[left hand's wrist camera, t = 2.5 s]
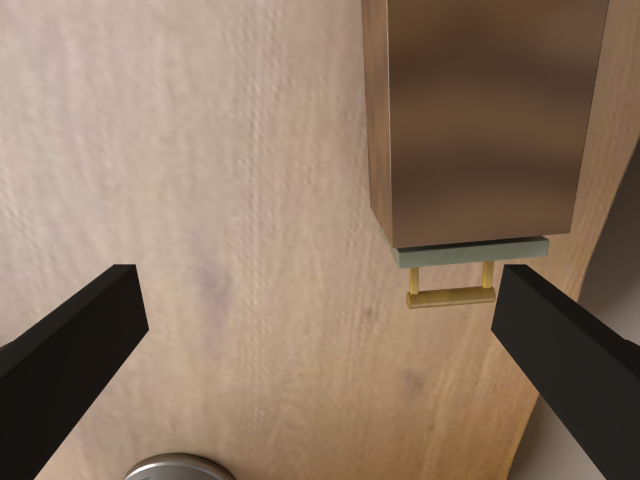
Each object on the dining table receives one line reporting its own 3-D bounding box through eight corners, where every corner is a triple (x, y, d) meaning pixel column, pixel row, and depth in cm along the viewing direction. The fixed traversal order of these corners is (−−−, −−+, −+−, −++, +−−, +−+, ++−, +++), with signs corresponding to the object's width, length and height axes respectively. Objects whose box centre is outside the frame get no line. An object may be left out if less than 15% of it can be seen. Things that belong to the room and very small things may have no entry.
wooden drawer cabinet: (495, 196, 31) (570, 233, 22) (370, 207, 31) (391, 249, 22) (518, -72, 24) (641, -183, 15) (359, -54, 25) (382, -151, 15)
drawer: (486, 276, 33) (536, 326, 25) (381, 285, 33) (399, 337, 26) (511, -24, 24) (598, -83, 17) (370, -8, 25) (393, -59, 17)
